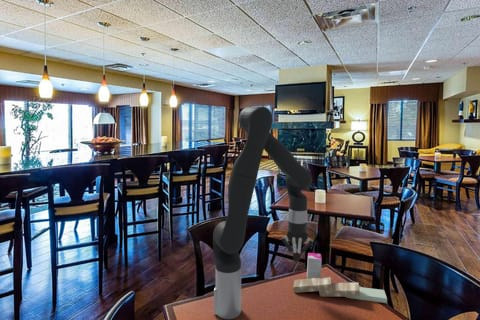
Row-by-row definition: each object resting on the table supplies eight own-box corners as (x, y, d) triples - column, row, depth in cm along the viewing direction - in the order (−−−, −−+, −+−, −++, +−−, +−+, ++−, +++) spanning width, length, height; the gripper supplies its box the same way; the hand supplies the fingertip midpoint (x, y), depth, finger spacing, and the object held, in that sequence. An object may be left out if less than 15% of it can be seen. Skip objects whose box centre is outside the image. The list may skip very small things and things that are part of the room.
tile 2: (318, 290, 120) (359, 290, 115) (320, 283, 126) (358, 282, 121) (319, 296, 121) (360, 296, 116) (321, 288, 126) (359, 288, 121)
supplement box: (320, 284, 129) (321, 259, 128) (306, 283, 130) (307, 258, 129) (320, 278, 135) (321, 253, 133) (306, 276, 136) (307, 252, 135)
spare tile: (345, 292, 120) (387, 298, 116) (344, 285, 126) (384, 290, 122) (345, 298, 120) (386, 304, 116) (344, 290, 126) (383, 295, 122)
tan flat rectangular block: (293, 287, 123) (331, 284, 119) (294, 279, 129) (330, 276, 125) (294, 292, 123) (332, 289, 119) (295, 285, 129) (331, 282, 125)
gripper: (280, 221, 120) (279, 263, 122) (314, 224, 117) (313, 266, 119) (282, 215, 127) (281, 255, 129) (314, 218, 124) (313, 258, 126)
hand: (296, 260), depth 124 cm, fingers closed
